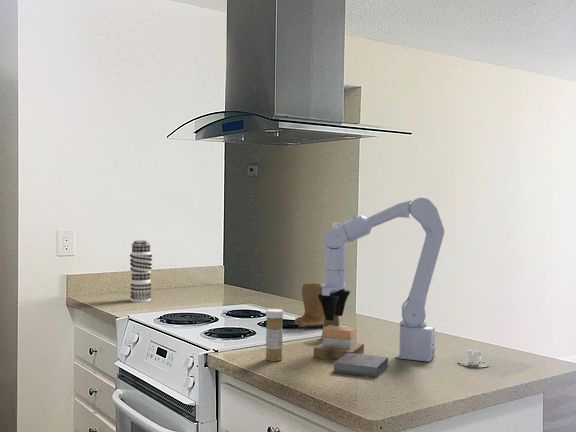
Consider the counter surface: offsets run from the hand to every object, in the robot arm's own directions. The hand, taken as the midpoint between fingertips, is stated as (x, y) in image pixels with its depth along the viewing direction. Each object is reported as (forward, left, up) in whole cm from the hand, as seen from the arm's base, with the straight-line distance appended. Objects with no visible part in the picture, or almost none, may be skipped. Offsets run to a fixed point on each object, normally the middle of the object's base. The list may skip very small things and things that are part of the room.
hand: (334, 317), depth 176 cm
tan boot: (+19, -33, -10) cm, 39 cm away
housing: (-2, +2, -7) cm, 8 cm away
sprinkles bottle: (+12, +15, -10) cm, 21 cm away
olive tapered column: (+7, -17, -10) cm, 21 cm away
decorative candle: (+103, -49, -10) cm, 114 cm away
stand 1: (-2, +2, -10) cm, 10 cm away
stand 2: (-12, +14, -10) cm, 21 cm away
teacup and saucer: (-40, -6, -11) cm, 42 cm away
